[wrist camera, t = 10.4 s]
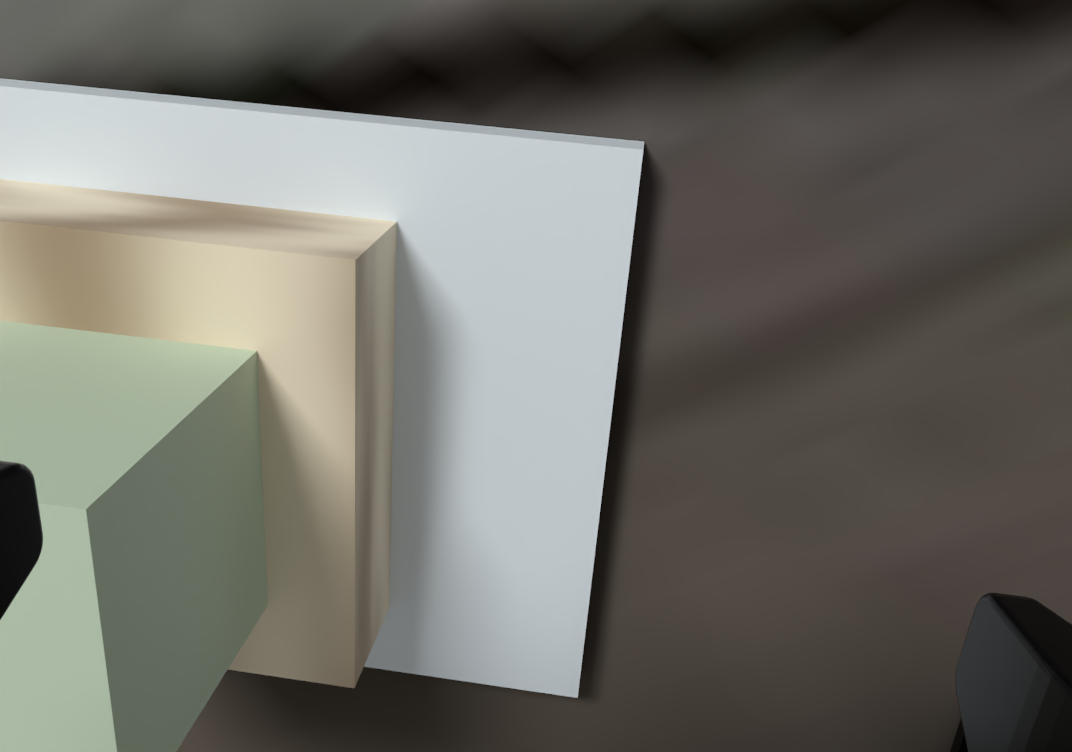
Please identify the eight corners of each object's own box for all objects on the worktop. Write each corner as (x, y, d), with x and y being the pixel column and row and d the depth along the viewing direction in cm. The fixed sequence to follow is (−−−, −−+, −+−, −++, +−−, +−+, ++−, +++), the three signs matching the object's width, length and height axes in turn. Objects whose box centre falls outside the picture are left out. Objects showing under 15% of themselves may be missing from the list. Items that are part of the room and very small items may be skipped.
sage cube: (256, 351, 19) (86, 509, 13) (267, 605, 21) (127, 829, 15) (-35, 316, 19) (-318, 455, 14) (8, 568, 21) (-218, 773, 16)
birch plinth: (397, 221, 20) (355, 260, 18) (389, 607, 24) (354, 688, 22) (-46, 174, 21) (-151, 203, 18) (16, 554, 25) (-63, 625, 22)
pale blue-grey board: (643, 141, 20) (643, 149, 19) (580, 672, 26) (577, 697, 25) (-238, 55, 22) (-278, 58, 21) (-119, 571, 27) (-146, 591, 26)
